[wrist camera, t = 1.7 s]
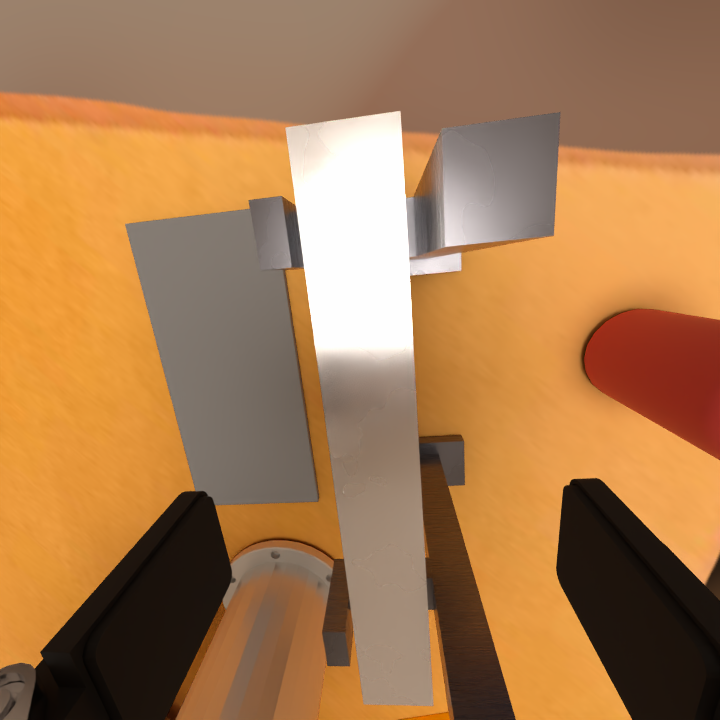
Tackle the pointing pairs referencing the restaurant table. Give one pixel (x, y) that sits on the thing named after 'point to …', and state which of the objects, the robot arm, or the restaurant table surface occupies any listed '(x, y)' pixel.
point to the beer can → (662, 371)
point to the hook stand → (446, 453)
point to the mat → (227, 357)
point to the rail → (368, 387)
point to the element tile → (431, 717)
